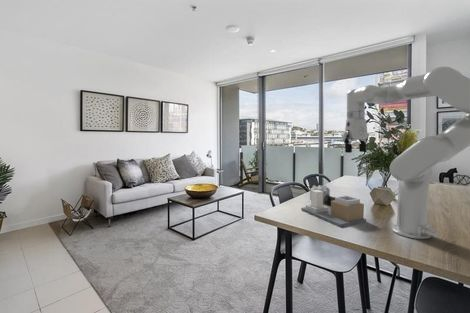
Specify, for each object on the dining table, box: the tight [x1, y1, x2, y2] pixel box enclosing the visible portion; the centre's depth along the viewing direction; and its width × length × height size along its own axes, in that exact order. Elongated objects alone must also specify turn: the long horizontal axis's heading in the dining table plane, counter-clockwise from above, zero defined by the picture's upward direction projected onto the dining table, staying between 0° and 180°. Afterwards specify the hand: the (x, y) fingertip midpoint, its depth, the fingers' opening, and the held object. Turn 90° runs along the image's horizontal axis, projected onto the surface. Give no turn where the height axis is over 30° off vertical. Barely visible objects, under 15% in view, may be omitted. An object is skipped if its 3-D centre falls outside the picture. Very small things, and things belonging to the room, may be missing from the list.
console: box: [301, 195, 367, 228], centre depth 117 cm, size 26×16×10 cm, turn 23°
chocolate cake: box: [323, 193, 336, 207], centre depth 132 cm, size 10×7×12 cm
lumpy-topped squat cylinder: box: [309, 184, 331, 201], centre depth 146 cm, size 10×13×9 cm
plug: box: [310, 190, 323, 208], centre depth 122 cm, size 5×4×10 cm
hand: (355, 152), depth 113 cm, fingers open, 9 cm apart
